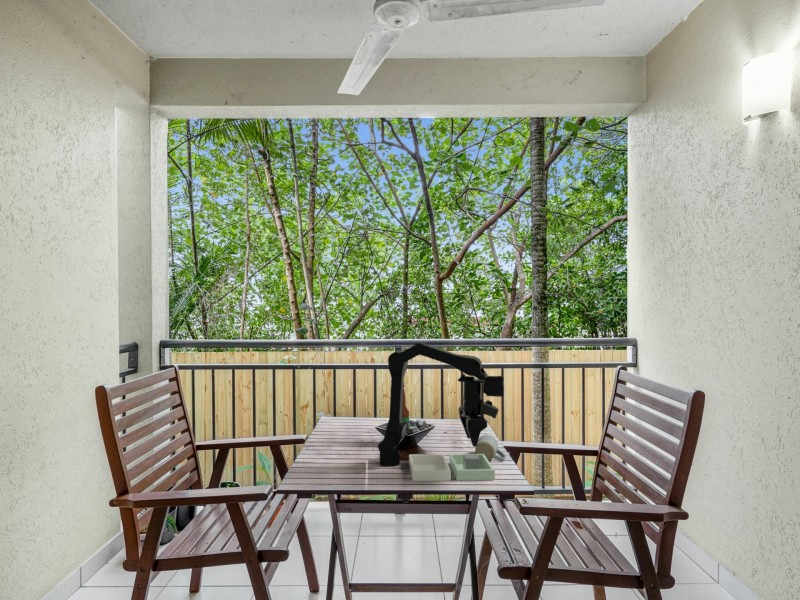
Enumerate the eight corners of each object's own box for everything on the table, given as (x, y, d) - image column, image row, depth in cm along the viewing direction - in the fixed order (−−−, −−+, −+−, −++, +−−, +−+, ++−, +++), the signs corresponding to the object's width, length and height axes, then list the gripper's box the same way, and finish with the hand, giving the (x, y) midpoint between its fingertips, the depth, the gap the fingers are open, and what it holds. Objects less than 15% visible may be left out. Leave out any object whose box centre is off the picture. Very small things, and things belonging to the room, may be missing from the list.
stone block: (465, 473, 168) (465, 458, 168) (462, 469, 173) (463, 454, 173) (479, 473, 169) (479, 458, 168) (476, 469, 173) (476, 454, 173)
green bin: (456, 483, 162) (457, 470, 162) (449, 465, 178) (449, 454, 178) (494, 482, 163) (494, 470, 163) (483, 465, 179) (483, 453, 179)
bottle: (391, 448, 197) (392, 383, 197) (388, 442, 204) (389, 379, 204) (410, 447, 199) (411, 382, 198) (406, 441, 206) (407, 379, 205)
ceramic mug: (474, 460, 184) (474, 439, 183) (477, 453, 192) (477, 433, 191) (504, 464, 181) (505, 442, 181) (506, 457, 189) (506, 436, 188)
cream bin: (412, 483, 162) (412, 470, 161) (408, 465, 178) (409, 454, 177) (450, 483, 162) (450, 470, 162) (443, 465, 178) (443, 454, 178)
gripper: (503, 401, 161) (503, 450, 162) (490, 389, 180) (489, 434, 180) (468, 401, 161) (467, 451, 161) (458, 389, 179) (457, 434, 180)
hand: (471, 442), depth 170 cm, fingers open, 9 cm apart
